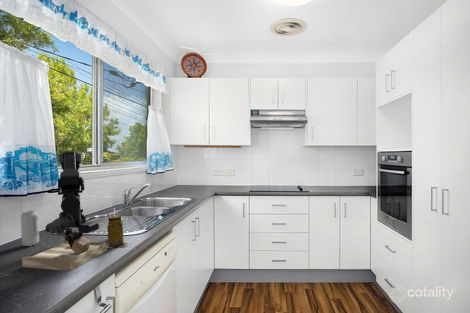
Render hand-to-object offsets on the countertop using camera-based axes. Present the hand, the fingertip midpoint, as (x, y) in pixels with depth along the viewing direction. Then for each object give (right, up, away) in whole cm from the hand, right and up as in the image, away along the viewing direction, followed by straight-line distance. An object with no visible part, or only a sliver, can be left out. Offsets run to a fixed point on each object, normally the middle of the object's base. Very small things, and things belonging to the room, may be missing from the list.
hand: (73, 249), depth 100 cm
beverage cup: (+5, -3, +24) cm, 24 cm away
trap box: (-3, -4, +1) cm, 5 cm away
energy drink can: (-30, -4, +18) cm, 35 cm away
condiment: (+10, -3, +14) cm, 18 cm away
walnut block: (+2, 0, 0) cm, 2 cm away
